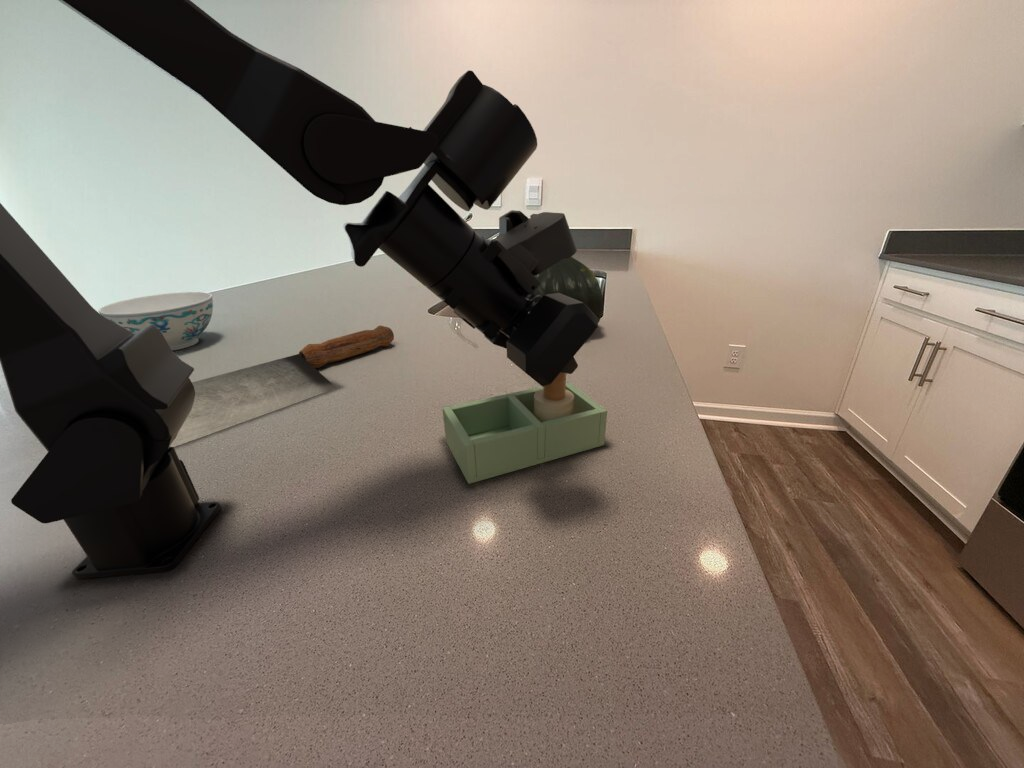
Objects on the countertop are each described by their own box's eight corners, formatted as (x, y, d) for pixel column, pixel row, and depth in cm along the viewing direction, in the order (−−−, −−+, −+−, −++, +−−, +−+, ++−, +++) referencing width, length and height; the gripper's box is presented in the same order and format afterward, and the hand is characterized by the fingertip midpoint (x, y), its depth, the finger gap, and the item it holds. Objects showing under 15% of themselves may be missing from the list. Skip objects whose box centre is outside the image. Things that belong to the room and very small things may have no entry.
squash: (607, 317, 62) (604, 234, 67) (510, 320, 64) (513, 239, 68) (600, 351, 76) (597, 279, 80) (520, 352, 78) (522, 282, 82)
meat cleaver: (164, 451, 42) (148, 417, 40) (140, 416, 48) (126, 386, 47) (425, 358, 65) (422, 334, 63) (384, 343, 71) (381, 321, 70)
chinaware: (148, 366, 63) (126, 318, 59) (101, 352, 69) (80, 308, 65) (243, 337, 75) (230, 296, 71) (196, 328, 81) (182, 289, 78)
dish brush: (570, 442, 40) (577, 309, 35) (530, 437, 41) (531, 307, 35) (573, 422, 44) (581, 298, 38) (537, 418, 45) (539, 297, 39)
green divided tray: (468, 484, 36) (465, 446, 34) (445, 441, 42) (442, 407, 40) (604, 445, 41) (607, 410, 39) (566, 411, 47) (567, 380, 46)
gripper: (581, 167, 23) (694, 326, 32) (475, 178, 39) (570, 283, 47) (459, 319, 24) (602, 435, 32) (402, 270, 39) (510, 358, 48)
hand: (567, 365), depth 40 cm, fingers closed on dish brush, 2 cm apart
